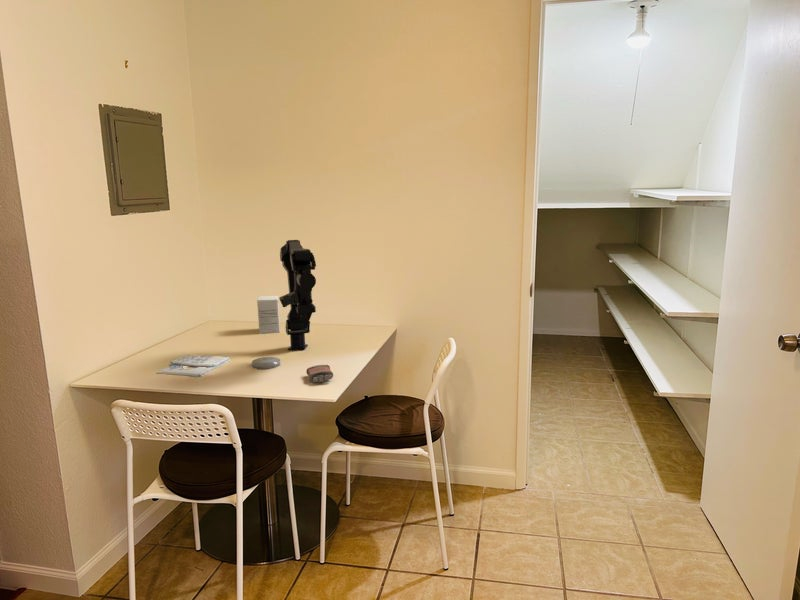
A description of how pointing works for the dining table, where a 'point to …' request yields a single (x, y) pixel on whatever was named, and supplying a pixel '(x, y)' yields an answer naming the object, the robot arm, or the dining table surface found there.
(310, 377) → the lighter
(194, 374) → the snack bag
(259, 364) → the grey smooth stone
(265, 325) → the supplement box
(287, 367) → the dining table surface
